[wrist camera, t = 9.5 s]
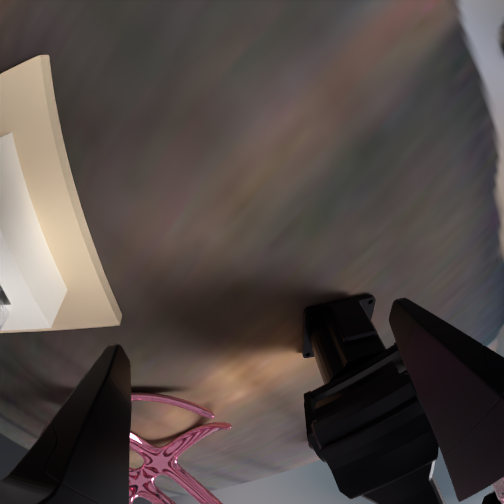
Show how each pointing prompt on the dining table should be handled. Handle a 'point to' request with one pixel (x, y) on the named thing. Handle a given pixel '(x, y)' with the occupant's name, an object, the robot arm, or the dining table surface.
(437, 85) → the dining table surface
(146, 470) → the pink openwork sphere
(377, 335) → the robot arm
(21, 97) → the cream square frame
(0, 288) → the grey wooden block
